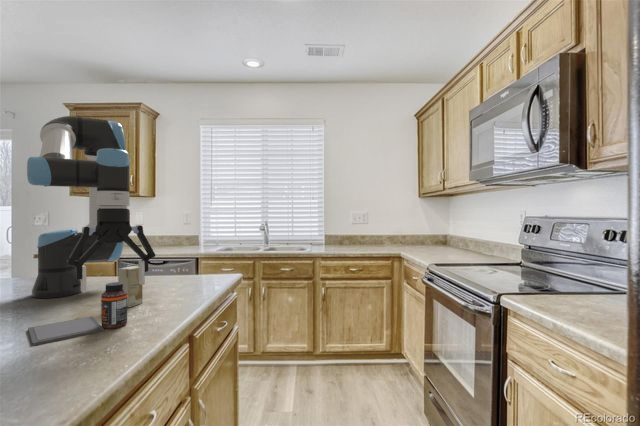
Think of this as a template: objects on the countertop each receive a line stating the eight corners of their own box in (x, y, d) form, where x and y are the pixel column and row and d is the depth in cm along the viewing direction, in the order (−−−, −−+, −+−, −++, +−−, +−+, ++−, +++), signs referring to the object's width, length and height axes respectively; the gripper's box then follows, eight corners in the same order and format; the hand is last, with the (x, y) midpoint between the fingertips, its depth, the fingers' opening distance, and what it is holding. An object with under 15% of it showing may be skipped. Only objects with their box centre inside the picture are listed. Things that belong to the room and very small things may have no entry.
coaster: (28, 330, 89) (28, 327, 89) (92, 318, 99) (92, 316, 99) (32, 345, 79) (32, 342, 79) (103, 331, 89) (103, 328, 89)
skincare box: (129, 308, 109) (129, 269, 109) (117, 307, 110) (117, 268, 110) (143, 302, 116) (143, 266, 116) (132, 302, 117) (132, 265, 117)
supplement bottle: (97, 326, 92) (96, 284, 92) (120, 320, 97) (120, 280, 97) (107, 331, 89) (107, 286, 89) (131, 324, 94) (131, 282, 94)
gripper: (57, 207, 81) (57, 298, 81) (167, 207, 98) (167, 283, 98) (53, 207, 87) (53, 293, 87) (157, 208, 104) (158, 279, 104)
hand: (114, 287), depth 93 cm, fingers open, 13 cm apart
